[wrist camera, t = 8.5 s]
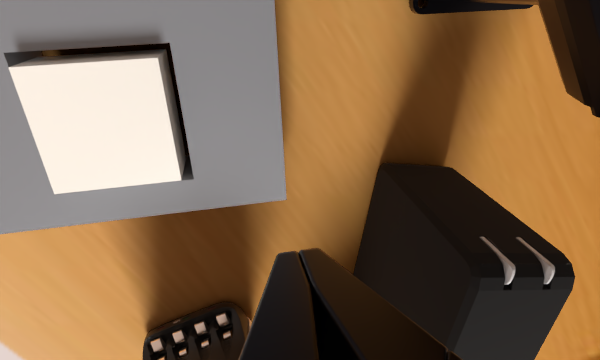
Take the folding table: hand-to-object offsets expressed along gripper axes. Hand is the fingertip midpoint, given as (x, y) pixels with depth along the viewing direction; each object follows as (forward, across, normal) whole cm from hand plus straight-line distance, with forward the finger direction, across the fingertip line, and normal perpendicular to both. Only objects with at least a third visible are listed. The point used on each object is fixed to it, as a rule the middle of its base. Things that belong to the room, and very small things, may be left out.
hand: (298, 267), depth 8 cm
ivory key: (+12, +6, -1) cm, 13 cm away
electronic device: (+13, -8, +9) cm, 18 cm away
